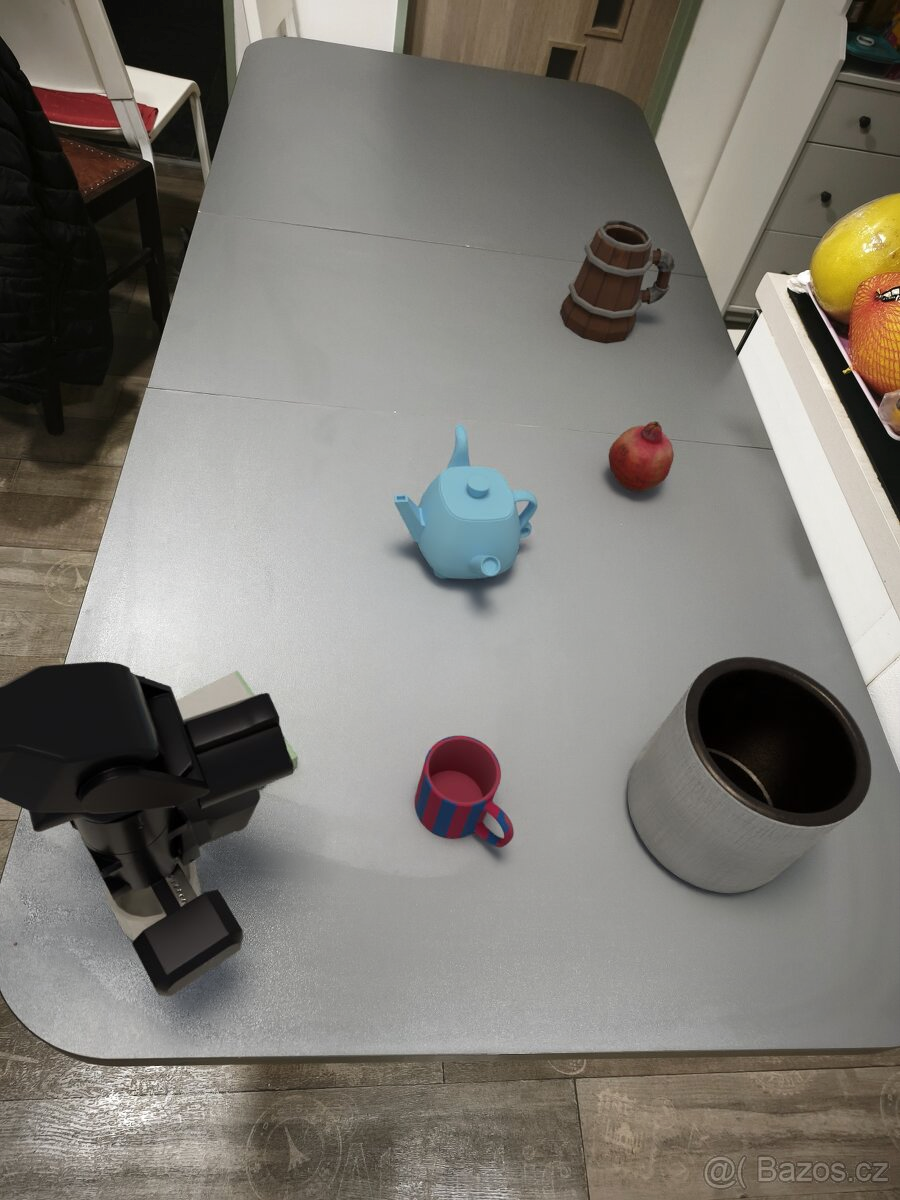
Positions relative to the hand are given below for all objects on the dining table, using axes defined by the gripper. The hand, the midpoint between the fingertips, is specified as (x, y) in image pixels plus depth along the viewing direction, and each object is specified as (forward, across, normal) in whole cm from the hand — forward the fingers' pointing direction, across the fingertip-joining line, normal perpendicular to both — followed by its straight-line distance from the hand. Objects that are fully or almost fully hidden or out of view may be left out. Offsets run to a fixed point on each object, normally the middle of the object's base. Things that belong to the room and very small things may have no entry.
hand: (155, 895), depth 64 cm
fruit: (+2, +16, -73) cm, 75 cm away
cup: (+2, -8, -25) cm, 26 cm away
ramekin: (+2, 0, 0) cm, 2 cm away
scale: (+2, +10, -10) cm, 14 cm away
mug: (+2, +45, -98) cm, 108 cm away
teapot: (+2, +18, -45) cm, 49 cm away
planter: (+2, -21, -45) cm, 50 cm away
